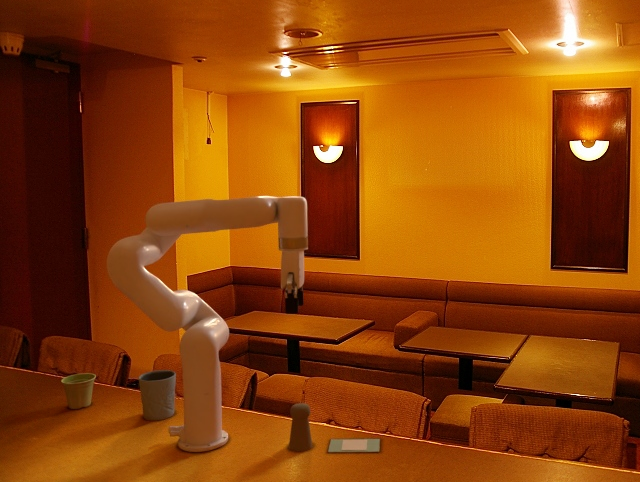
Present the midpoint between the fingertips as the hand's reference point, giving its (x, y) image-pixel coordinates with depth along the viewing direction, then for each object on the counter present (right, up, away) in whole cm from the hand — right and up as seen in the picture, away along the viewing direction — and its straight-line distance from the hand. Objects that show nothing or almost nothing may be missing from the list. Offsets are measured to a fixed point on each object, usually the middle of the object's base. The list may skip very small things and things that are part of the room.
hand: (294, 309), depth 158 cm
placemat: (+16, -36, 0) cm, 39 cm away
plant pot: (-71, -34, +28) cm, 83 cm away
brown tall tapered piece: (+2, -36, -1) cm, 36 cm away
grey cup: (-44, -35, +20) cm, 59 cm away
